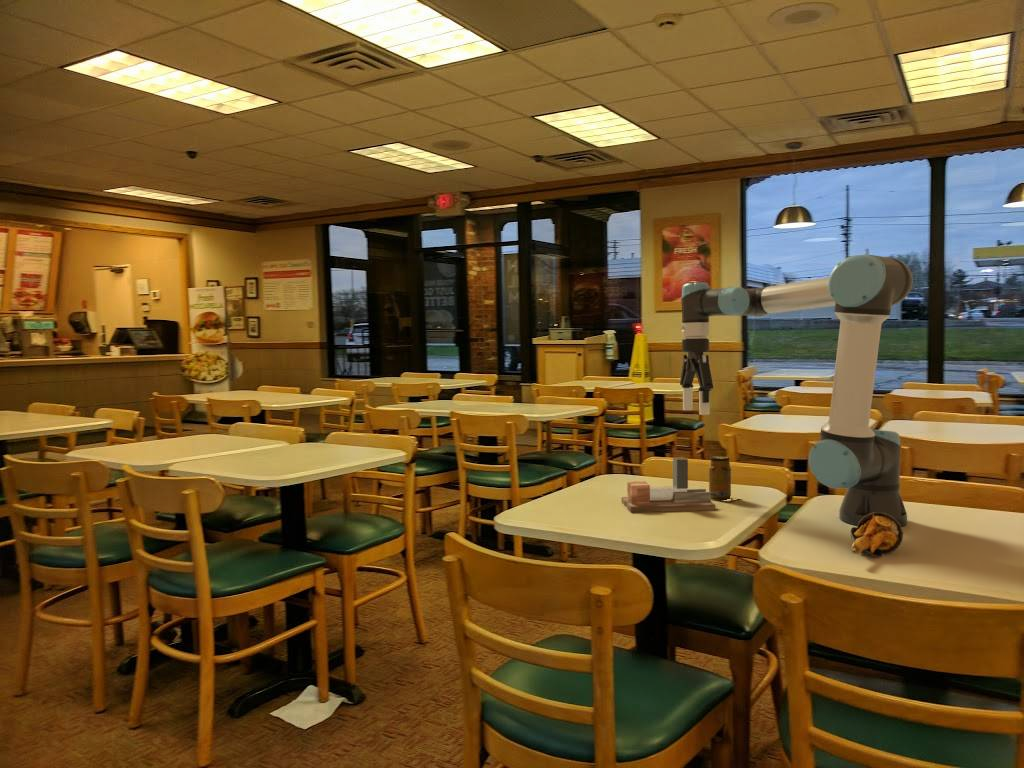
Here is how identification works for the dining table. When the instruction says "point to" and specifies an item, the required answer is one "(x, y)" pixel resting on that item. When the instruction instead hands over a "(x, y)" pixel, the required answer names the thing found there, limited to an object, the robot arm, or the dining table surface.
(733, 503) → the dining table surface
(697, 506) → the rail slide board
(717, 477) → the condiment
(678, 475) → the mallet
